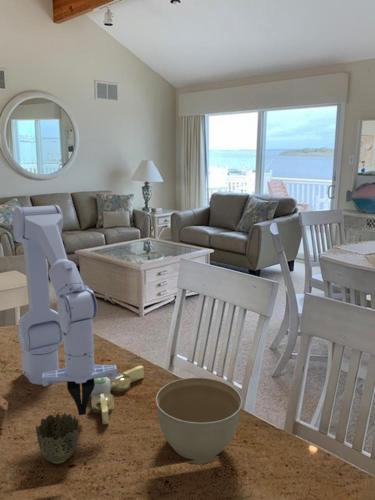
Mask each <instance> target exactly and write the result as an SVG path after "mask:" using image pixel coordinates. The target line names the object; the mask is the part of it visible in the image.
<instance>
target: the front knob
mask: <svg viewBox="0 0 375 500" xmlns="http://www.w3.org/2000/svg"><path fill="white" fill-rule="evenodd" d="M90 398H91V397H90ZM90 402H91V411H92V412H93V413H95V414H98V415H100V416H101V417H100V418H101V421H102V425H109V424H110V423H109V413H110V412H112V411H113V410H114V408H115V398H114V395H113V394H112V393H111V394H109V393H99V394H96V395H94V396H93V397H92V398H91V399H90Z"/></svg>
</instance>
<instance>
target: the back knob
mask: <svg viewBox="0 0 375 500" xmlns="http://www.w3.org/2000/svg"><path fill="white" fill-rule="evenodd" d="M144 370H145V368H144V366H143V365H137V366H135V367H132V368H131V369H127V370H126V371H123V372H122V373H117V377H116V378H112V377H109V379H110V391H112V392H117V393H122V392H126V391H128V390H129V389H131V384H132V383H134V382H137V381H138V380H141V379H143V378H145V372H144Z"/></svg>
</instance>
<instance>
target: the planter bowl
mask: <svg viewBox="0 0 375 500" xmlns="http://www.w3.org/2000/svg"><path fill="white" fill-rule="evenodd" d="M155 406H156V411H157V418H158V424H159V427H160V429H161V431H162V432H161V433H162V434H163V436H164V437H165V439H166V441H167V443H168V444H169V445H170V446H171V447H172V449H173V450H174V451H175V453H177V454H178V455H180V456H181V457H183V458H186V459H190V460H188V461H187V460H186V461H185V462H186V463H187V464H188V463H189V464H193V465H203V464H209V463H212V462H214V461H216V460H217V459H219V458H220V455H219V454H220V453H223V450H224V449H225V448H226V447H227V446H228V445H229V444H230V441H232V439H233V437H234V436H235V434H236V431H237V429H238V425H239V422H240V417H241V411H242V408H243V398H242V396H241V394H240V392H239V391H238V390H236V388H235V387H233V386H232V385H230V384H228V383H226V382H224V381H221V380H217V379H213V378H209V377H185V378H181V379H176V380H173V381H171V382H169V383H167V384H165V385H164V386H162V387H161V388H160V389H159V390H158V392H157V394H156V397H155Z"/></svg>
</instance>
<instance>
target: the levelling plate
mask: <svg viewBox="0 0 375 500" xmlns="http://www.w3.org/2000/svg"><path fill="white" fill-rule="evenodd" d="M94 383H95V386H94V389H93V391H92V393H91V395H90V398H92V397H93V396H94V395H96V394H99V393H109V394H112V393H111V389H110V377H104V378H95V379H94Z"/></svg>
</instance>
